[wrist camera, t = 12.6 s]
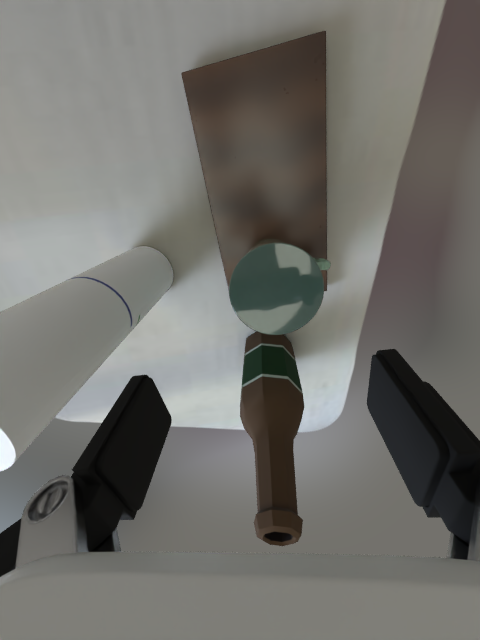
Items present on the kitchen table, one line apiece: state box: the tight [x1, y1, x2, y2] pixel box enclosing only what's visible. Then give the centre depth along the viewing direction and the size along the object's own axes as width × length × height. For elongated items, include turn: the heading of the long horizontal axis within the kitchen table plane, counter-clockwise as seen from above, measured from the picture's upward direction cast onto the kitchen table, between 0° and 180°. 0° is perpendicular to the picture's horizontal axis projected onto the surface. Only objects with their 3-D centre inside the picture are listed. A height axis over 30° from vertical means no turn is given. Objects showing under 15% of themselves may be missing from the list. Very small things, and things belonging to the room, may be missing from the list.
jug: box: [229, 238, 331, 335], centre depth 23 cm, size 7×9×14 cm
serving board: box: [182, 31, 327, 291], centre depth 27 cm, size 24×13×2 cm, turn 10°
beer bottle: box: [240, 332, 304, 546], centre depth 28 cm, size 8×8×24 cm
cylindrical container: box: [0, 246, 174, 471], centre depth 22 cm, size 7×7×25 cm
